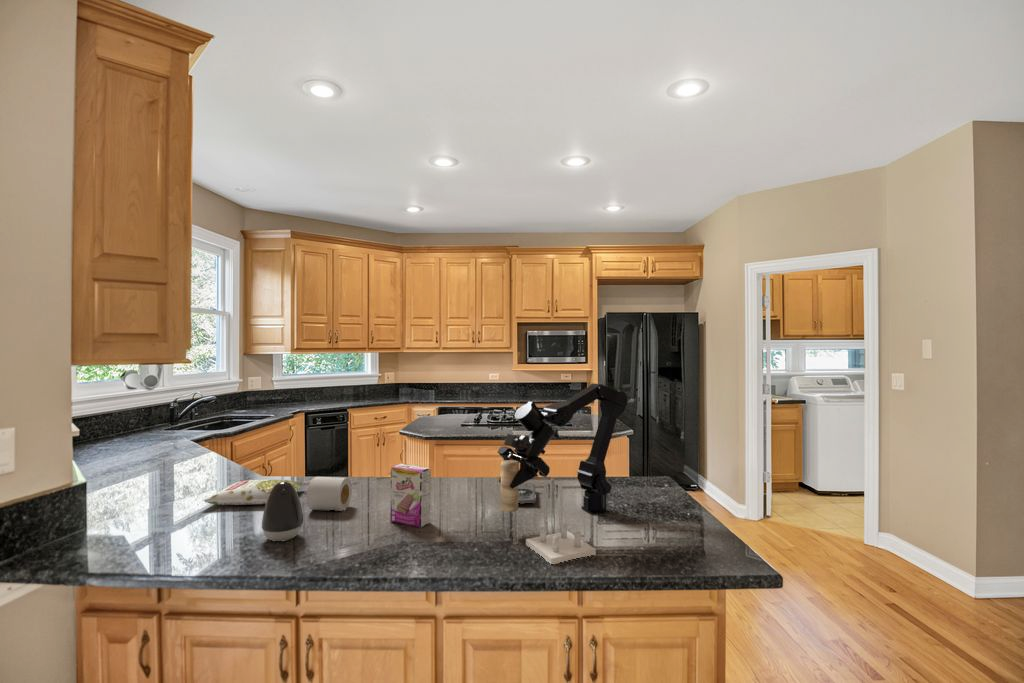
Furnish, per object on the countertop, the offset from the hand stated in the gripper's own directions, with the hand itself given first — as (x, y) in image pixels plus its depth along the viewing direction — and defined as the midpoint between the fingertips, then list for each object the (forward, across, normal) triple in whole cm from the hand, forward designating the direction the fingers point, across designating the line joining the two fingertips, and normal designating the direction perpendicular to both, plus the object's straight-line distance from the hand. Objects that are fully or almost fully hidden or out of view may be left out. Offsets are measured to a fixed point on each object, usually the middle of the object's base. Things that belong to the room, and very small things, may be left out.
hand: (505, 485), depth 139 cm
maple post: (+4, 0, +6) cm, 7 cm away
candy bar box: (+23, -22, -4) cm, 32 cm away
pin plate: (+6, +17, +14) cm, 22 cm away
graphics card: (-5, -23, +25) cm, 34 cm away
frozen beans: (+47, -70, -28) cm, 89 cm away
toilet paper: (+34, -47, -15) cm, 60 cm away
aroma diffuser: (+46, -30, -27) cm, 62 cm away
